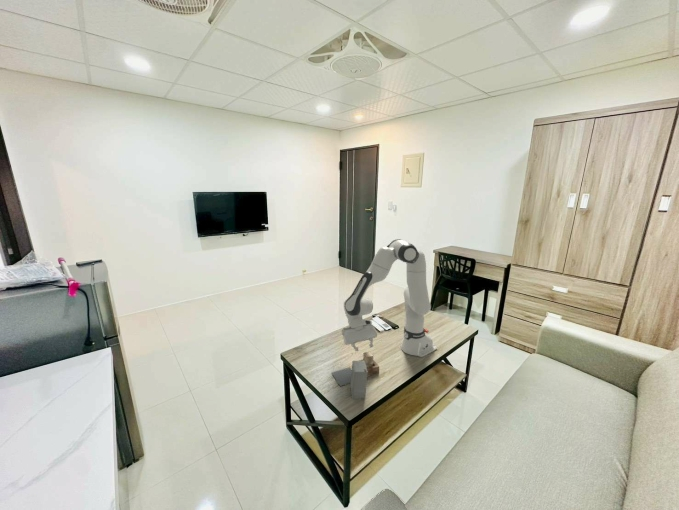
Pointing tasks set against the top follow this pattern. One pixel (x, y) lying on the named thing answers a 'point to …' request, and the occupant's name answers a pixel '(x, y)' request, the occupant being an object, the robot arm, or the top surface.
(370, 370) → the walnut pocket
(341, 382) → the slate mat
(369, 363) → the birch peg block
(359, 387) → the skincare box
